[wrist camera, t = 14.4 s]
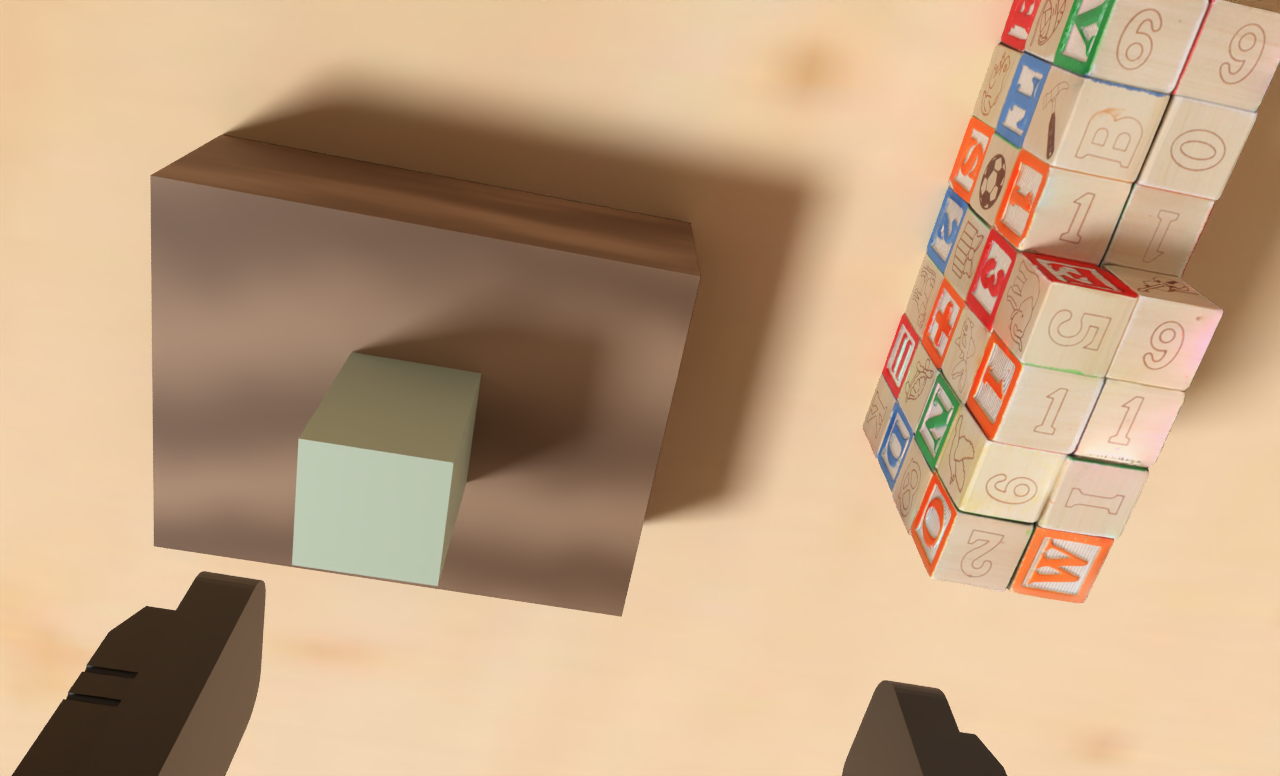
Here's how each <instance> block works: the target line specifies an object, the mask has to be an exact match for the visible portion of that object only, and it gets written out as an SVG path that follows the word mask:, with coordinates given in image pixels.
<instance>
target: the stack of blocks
mask: <svg viewBox="0 0 1280 776" xmlns="http://www.w3.org/2000/svg"><path fill="white" fill-rule="evenodd" d="M1279 63H1280V13H1277V12H1272V11H1268V10H1264V9H1259V8H1255V7H1251V6H1246V5H1242V4H1238V3H1233V2H1229V1H1225V0H1014V1H1013V4H1012V7H1011V10H1010V13H1009V16H1008V19H1007V22H1006V25H1005V29H1004V31H1003V34H1002V36H1001V43H1000V44H998V45H997V46H996V47H995V50H994V53H993V56H992V59H991V62H990V65H989V68H988V70H987V73H986V76H985V79H984V82H983V85H982V88H981V91H980V94H979V97H978V99H977V102H976V105H975V108H974V113H973V116H972V118H971V120H970V122H969V125H968V127H967V130H966V133H965V136H964V139H963V142H962V144H961V147H960V150H959V153H958V156H957V158H956V161H955V164H954V167H953V170H952V173H951V176H950V178H949V188H948V190H947V192H946V195H945V198H944V201H943V204H942V207H941V210H940V212H939V215H938V218H937V221H936V224H935V227H934V229H933V232H932V235H931V238H930V241H929V243H928V246H927V253H926V255H925V257H924V259H923V262H922V265H921V268H920V271H919V274H918V276H917V279H916V282H915V285H914V288H913V291H912V294H911V297H910V299H909V302H908V305H907V308H906V312H905V313H904V314H903V316H902V318H901V321H900V323H899V326H898V329H897V332H896V335H895V338H894V341H893V343H892V346H891V349H890V352H889V354H888V357H887V360H886V363H885V366H884V369H883V371H882V375H881V376H880V379H879V381H878V384H877V387H876V390H875V393H874V395H873V398H872V401H871V404H870V407H869V410H868V412H867V415H866V418H865V421H864V424H863V430H864V432H865V434H866V436H867V438H868V440H869V443H870V445H871V448H872V450H873V452H874V455H875V456H876V458H878V461H879V464H880V466H881V469H882V471H883V473H884V475H885V477H886V479H887V482H888V485H889V487H890V490H891V492H892V493H893V500H894V502H895V504H896V507H897V509H898V511H899V514H900V516H901V518H902V520H903V523H904V525H905V527H906V529H907V532H908V534H909V535H912V537H913V539H914V542H915V544H916V547H917V549H918V552H919V554H920V556H921V558H922V561H923V563H924V566H925V568H926V570H927V572H928V574H929V576H930V577H931V578H932V579H934V580H940V581H946V582H952V583H958V584H963V585H969V586H975V587H980V588H985V589H990V590H995V591H1002V592H1003V591H1005V589H1006V588H1008V590H1009V591H1011V592H1014V593H1017V594H1021V595H1028V596H1035V597H1041V598H1047V599H1053V600H1060V601H1067V602H1073V603H1084V602H1085V600H1086V598H1087V596H1088V594H1089V592H1090V590H1091V588H1092V586H1093V584H1094V582H1095V579H1096V577H1097V575H1098V573H1099V571H1100V569H1101V567H1102V565H1103V564H1104V562H1105V559H1106V557H1107V555H1108V553H1109V551H1110V549H1111V547H1112V545H1113V543H1114V538H1118V537H1119V536H1120V535H1121V534H1122V532H1123V529H1124V527H1125V525H1126V523H1127V521H1128V519H1129V517H1130V515H1131V512H1132V510H1133V508H1134V506H1135V504H1136V502H1137V500H1138V498H1139V496H1140V493H1141V491H1142V489H1143V487H1144V484H1145V482H1146V480H1147V478H1148V475H1149V470H1148V467H1149V466H1151V465H1153V464H1154V463H1155V462H1156V461H1157V458H1158V456H1159V454H1160V452H1161V450H1162V448H1163V445H1164V443H1165V441H1166V439H1167V436H1168V434H1169V432H1170V431H1171V428H1172V426H1173V423H1174V421H1175V419H1176V417H1177V415H1178V413H1179V410H1180V408H1181V406H1182V404H1183V402H1184V399H1185V390H1186V389H1187V388H1188V387H1189V386H1190V384H1191V382H1192V380H1193V378H1194V376H1195V374H1196V371H1197V369H1198V367H1199V365H1200V363H1201V360H1202V358H1203V356H1204V354H1205V352H1206V350H1207V348H1208V346H1209V343H1210V341H1211V339H1212V337H1213V335H1214V332H1215V330H1216V328H1217V326H1218V323H1219V321H1220V319H1221V317H1222V315H1223V309H1221V308H1220V307H1218V306H1217V305H1215V304H1214V303H1213V302H1211V301H1210V300H1209V299H1208V298H1206V297H1205V296H1203V295H1202V294H1201V293H1199V292H1198V291H1197V290H1195V289H1194V288H1193V287H1191V286H1190V285H1189V284H1187V283H1186V282H1185V281H1183V280H1182V279H1181V277H1182V275H1183V273H1184V271H1185V268H1186V266H1187V264H1188V262H1189V259H1190V257H1191V255H1192V253H1193V251H1194V248H1195V246H1196V244H1197V242H1198V240H1199V237H1200V235H1201V233H1202V231H1203V229H1204V226H1205V224H1206V222H1207V220H1208V218H1209V216H1210V213H1211V211H1212V209H1213V207H1214V204H1215V201H1216V200H1218V199H1219V198H1220V196H1221V195H1222V192H1223V190H1224V188H1225V186H1226V184H1227V182H1228V179H1229V177H1230V175H1231V173H1232V171H1233V169H1234V166H1235V164H1236V162H1237V160H1238V158H1239V156H1240V153H1241V151H1242V149H1243V147H1244V145H1245V142H1246V140H1247V138H1248V136H1249V134H1250V131H1251V129H1252V127H1253V125H1254V123H1255V120H1256V118H1257V116H1258V113H1257V111H1256V110H1257V109H1258V107H1259V105H1260V104H1261V102H1262V100H1263V97H1264V95H1265V93H1266V91H1267V89H1268V87H1269V85H1270V83H1271V80H1272V78H1273V76H1274V73H1275V71H1276V69H1277V67H1278V65H1279Z"/></svg>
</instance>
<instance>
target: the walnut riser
mask: <svg viewBox="0 0 1280 776" xmlns="http://www.w3.org/2000/svg"><path fill="white" fill-rule="evenodd" d="M151 273H152V377H153V481H154V546H157V547H163V548H170V549H176V550H183V551H190V552H196V553H203V554H210V555H216V556H223V557H230V558H236V559H243V560H250V561H256V562H263V563H269V564H276V565H283V566H289V567H296V568H303V569H309V570H316V571H323V572H329V573H336V574H343V575H349V576H356V577H362V578H369V579H376V580H382V581H389V582H396V583H402V584H409V585H416V586H422V587H429V588H436V589H442V590H449V591H455V592H462V593H469V594H475V595H482V596H489V597H495V598H502V599H509V600H515V601H522V602H529V603H535V604H542V605H548V606H555V607H562V608H568V609H575V610H582V611H588V612H595V613H602V614H608V615H615V616H622V612H623V608H624V604H625V599H626V595H627V591H628V587H629V582H630V578H631V574H632V569H633V565H634V561H635V557H636V552H637V548H638V544H639V539H640V535H641V531H642V526H643V522H644V518H645V514H646V509H647V505H648V501H649V496H650V492H651V488H652V484H653V479H654V475H655V471H656V466H657V462H658V458H659V454H660V449H661V445H662V441H663V436H664V432H665V428H666V424H667V419H668V415H669V411H670V406H671V402H672V398H673V394H674V389H675V385H676V381H677V376H678V372H679V368H680V364H681V359H682V355H683V351H684V346H685V342H686V338H687V334H688V329H689V325H690V321H691V316H692V312H693V308H694V304H695V299H696V295H697V291H698V286H699V282H700V278H701V275H700V270H699V265H698V260H697V255H696V250H695V244H694V239H693V234H692V229H691V224H690V223H687V222H682V221H677V220H671V219H666V218H661V217H655V216H650V215H645V214H639V213H634V212H629V211H623V210H618V209H613V208H608V207H602V206H597V205H592V204H586V203H581V202H576V201H570V200H565V199H560V198H554V197H549V196H544V195H538V194H533V193H528V192H523V191H517V190H512V189H507V188H501V187H496V186H491V185H485V184H480V183H475V182H469V181H464V180H459V179H454V178H448V177H443V176H438V175H432V174H427V173H422V172H416V171H411V170H406V169H400V168H395V167H390V166H384V165H379V164H374V163H369V162H363V161H358V160H353V159H347V158H342V157H337V156H331V155H326V154H321V153H315V152H310V151H305V150H300V149H294V148H289V147H284V146H278V145H273V144H268V143H262V142H257V141H252V140H246V139H241V138H236V137H230V136H225V135H220V136H218V137H217V138H215V139H213V140H211V141H210V142H208V143H206V144H205V145H203V146H201V147H199V148H198V149H196V150H194V151H192V152H191V153H189V154H187V155H185V156H184V157H182V158H180V159H178V160H177V161H175V162H173V163H171V164H170V165H168V166H166V167H164V168H163V169H161V170H159V171H158V172H156V173H154V174H152V175H151ZM351 352H355V353H361V354H367V355H373V356H379V357H385V358H391V359H397V360H403V361H409V362H415V363H421V364H427V365H434V366H440V367H446V368H452V369H458V370H464V371H470V372H476V373H481V379H480V386H479V394H478V401H477V408H476V416H475V423H474V431H473V438H472V446H471V453H470V460H469V468H468V475H467V483H466V486H465V490H464V494H463V497H462V501H461V504H460V508H459V512H458V515H457V519H456V522H455V526H454V530H453V533H452V537H451V541H450V544H449V548H448V551H447V555H446V559H445V562H444V566H443V570H442V573H441V577H440V580H439V584H438V586H433V585H426V584H419V583H413V582H406V581H399V580H392V579H385V578H378V577H371V576H364V575H358V574H351V573H344V572H337V571H330V570H323V569H316V568H309V567H302V566H296V565H292V556H293V536H294V517H295V498H296V478H297V459H298V440H299V437H300V435H301V434H302V432H303V430H304V429H305V427H306V426H307V424H308V422H309V421H310V419H311V417H312V416H313V414H314V413H315V411H316V409H317V408H318V406H319V404H320V403H321V401H322V399H323V398H324V396H325V395H326V393H327V391H328V390H329V388H330V386H331V385H332V383H333V381H334V380H335V378H336V377H337V375H338V373H339V372H340V370H341V368H342V367H343V365H344V363H345V362H346V360H347V359H348V357H349V355H350V354H351Z"/></svg>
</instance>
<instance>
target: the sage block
mask: <svg viewBox="0 0 1280 776" xmlns="http://www.w3.org/2000/svg"><path fill="white" fill-rule="evenodd" d="M480 379H481V373H476V372H470V371H464V370H458V369H452V368H446V367H440V366H434V365H427V364H421V363H415V362H409V361H403V360H397V359H391V358H385V357H379V356H373V355H367V354H361V353H355V352H351V354H350V355H349V357H348V359H347V360H346V362H345V363H344V365H343V367H342V368H341V370H340V372H339V373H338V375H337V377H336V378H335V380H334V381H333V383H332V385H331V386H330V388H329V390H328V391H327V393H326V395H325V396H324V398H323V399H322V401H321V403H320V404H319V406H318V408H317V409H316V411H315V413H314V414H313V416H312V417H311V419H310V421H309V422H308V424H307V426H306V427H305V429H304V430H303V432H302V434H301V435H300V437H299V440H298V459H297V478H296V498H295V517H294V536H293V556H292V565H296V566H302V567H309V568H316V569H323V570H330V571H337V572H344V573H351V574H358V575H364V576H371V577H378V578H385V579H392V580H399V581H406V582H413V583H419V584H426V585H433V586H438V584H439V580H440V577H441V573H442V570H443V566H444V562H445V559H446V555H447V551H448V548H449V544H450V541H451V537H452V533H453V530H454V526H455V522H456V519H457V515H458V512H459V508H460V504H461V501H462V497H463V494H464V490H465V486H466V483H467V475H468V468H469V460H470V453H471V446H472V438H473V431H474V423H475V416H476V408H477V401H478V394H479V386H480Z"/></svg>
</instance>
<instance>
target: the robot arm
mask: <svg viewBox="0 0 1280 776" xmlns="http://www.w3.org/2000/svg"><path fill="white" fill-rule="evenodd" d="M265 592H266V591H265V583H264V581H262V580H255V579H249V578H243V577H236V576H230V575H224V574H217V573H211V572H201V573H200V574H199V575H198V576H197V577H196V578H195V580H194V582H193V583H192V585H191V586H190V588H189V590H188V591H187V593H186V595H185V596H184V598H183V600H182V601H181V603H180V605H179V606H178V608H177V610H176V611H175V610H169V609H162V608H155V607H149V606H146V607H144V608H143V609H141V610H140V611H138V612H137V613H136V614H134V615H133V616H131V617H130V618H128V619H127V620H126V621H124V622H123V623H121V624H120V625H118V626H117V627H116V628H114V629H113V630H111V631H110V632H109V633H108V634H107V636H106V637H105V639H104V640H103V642H102V643H101V645H100V646H99V648H98V649H97V651H96V652H95V654H94V655H93V656H92V658H91V659H90V661H89V662H88V664H87V667H86V670H85V672H82V673H81V674H80V676H79V677H78V679H77V680H76V682H75V683H74V684H73V686H72V687H71V689H70V690H69V692H68V696H67V699H66V700H65V699H63V701H62V702H61V704H60V705H59V707H58V708H57V710H56V711H55V713H54V714H53V715H52V717H51V718H50V720H49V721H48V723H47V724H46V726H45V727H44V729H43V730H42V732H41V733H40V735H39V736H38V738H37V739H36V741H35V742H34V743H33V745H32V746H31V748H30V749H29V751H28V752H27V754H26V755H25V757H24V758H23V760H22V761H21V763H20V764H19V766H18V767H17V769H16V770H15V772H14V773H13V774H12V776H225V775H226V772H227V770H228V768H229V766H230V763H231V761H232V759H233V757H234V754H235V752H236V750H237V748H238V745H239V743H240V741H241V738H242V736H243V734H244V732H245V729H246V727H247V725H248V722H249V720H250V717H251V714H252V711H253V707H254V704H255V700H256V696H257V692H258V687H259V681H260V674H261V659H262V643H263V627H264V610H265ZM842 776H1007V774H1006V772H1005V770H1004V767H1003V766H1002V765H1001V764H1000V763H999V762H998V760H997V759H996V758H995V757H994V756H993V754H992V753H991V752H990V751H989V750H988V749H987V747H986V746H985V745H984V744H983V743H982V741H981V740H980V739H979V738H978V737H977V736H976V735H975V734H968V733H962V732H959V729H958V727H957V724H956V722H955V719H954V717H953V714H952V711H951V709H950V706H949V704H948V701H947V699H946V697H945V695H944V693H943V692H942V691H941V690H940V689H937V688H931V687H925V686H919V685H912V684H906V683H900V682H893V681H887V680H885V681H882V682H881V683H880V684H879V685H878V686H877V688H876V689H875V692H874V694H873V696H872V699H871V701H870V703H869V706H868V708H867V711H866V713H865V715H864V718H863V720H862V723H861V725H860V727H859V730H858V732H857V735H856V737H855V739H854V742H853V744H852V747H851V749H850V751H849V754H848V756H847V759H846V762H845V765H844V768H843V774H842Z"/></svg>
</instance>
